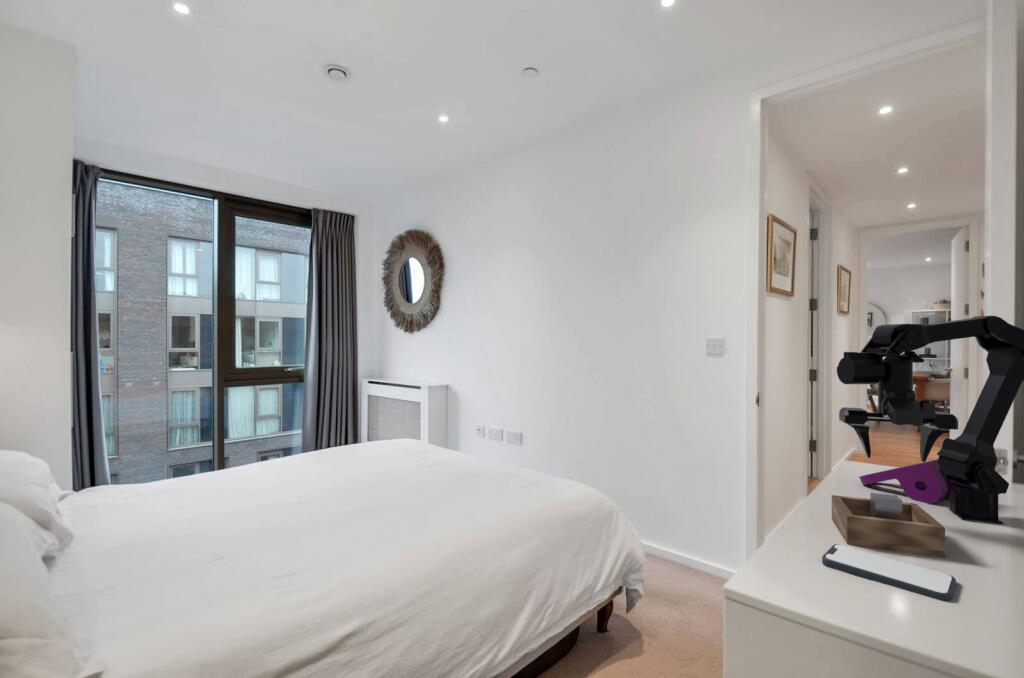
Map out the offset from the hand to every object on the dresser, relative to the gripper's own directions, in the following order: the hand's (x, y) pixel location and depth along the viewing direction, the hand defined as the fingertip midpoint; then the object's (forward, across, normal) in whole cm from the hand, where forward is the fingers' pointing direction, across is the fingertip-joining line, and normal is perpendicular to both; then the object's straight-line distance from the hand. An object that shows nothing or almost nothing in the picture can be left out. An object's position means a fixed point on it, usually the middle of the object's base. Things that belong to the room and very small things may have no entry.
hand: (895, 459), depth 101 cm
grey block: (+11, -5, -13) cm, 18 cm away
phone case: (+13, -9, -30) cm, 34 cm away
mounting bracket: (+12, +7, +21) cm, 25 cm away
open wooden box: (+12, -6, -13) cm, 19 cm away
